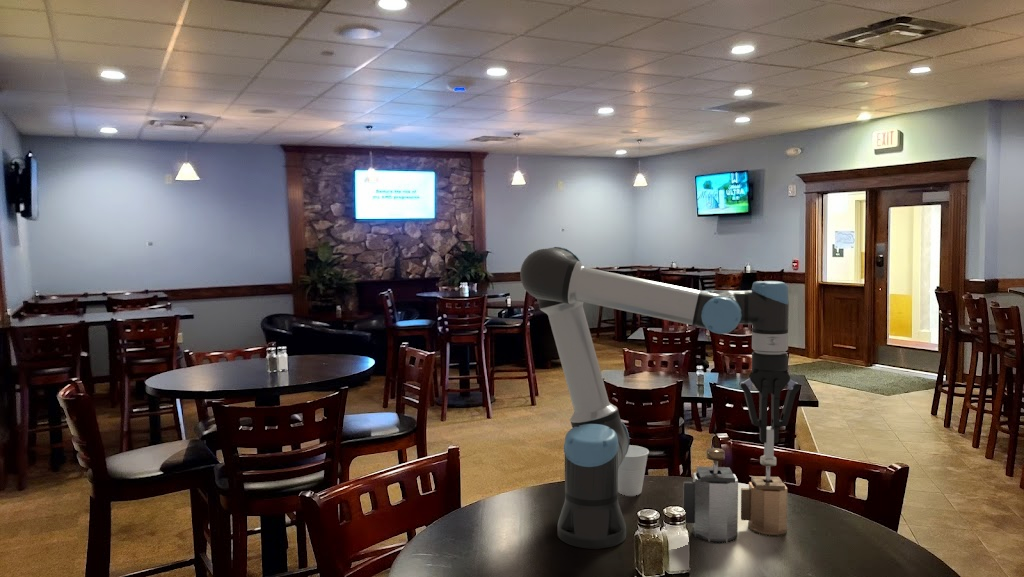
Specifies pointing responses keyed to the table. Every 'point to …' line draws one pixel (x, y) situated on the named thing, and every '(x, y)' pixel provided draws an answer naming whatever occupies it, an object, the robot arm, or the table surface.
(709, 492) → the steel press
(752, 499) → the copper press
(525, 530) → the table surface
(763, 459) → the grey press handle
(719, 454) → the steel plunger
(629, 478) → the cup
